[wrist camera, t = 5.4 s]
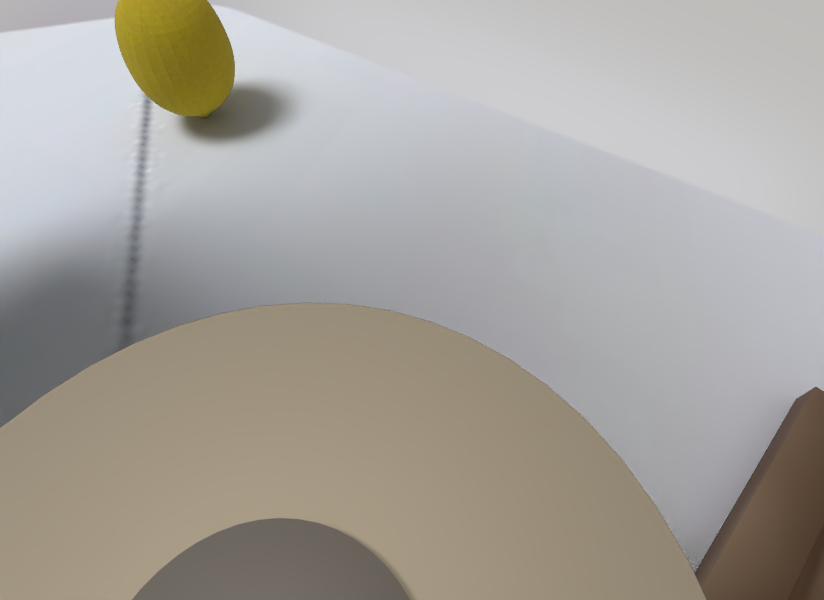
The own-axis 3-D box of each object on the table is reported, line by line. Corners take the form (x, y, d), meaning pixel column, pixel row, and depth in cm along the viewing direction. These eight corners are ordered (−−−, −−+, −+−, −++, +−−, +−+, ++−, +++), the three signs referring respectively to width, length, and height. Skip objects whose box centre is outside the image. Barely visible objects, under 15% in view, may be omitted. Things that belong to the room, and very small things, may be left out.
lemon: (208, 156, 29) (143, 11, 22) (139, 127, 30) (59, -17, 24) (269, 104, 31) (228, -40, 25) (202, 79, 33) (147, -62, 26)
